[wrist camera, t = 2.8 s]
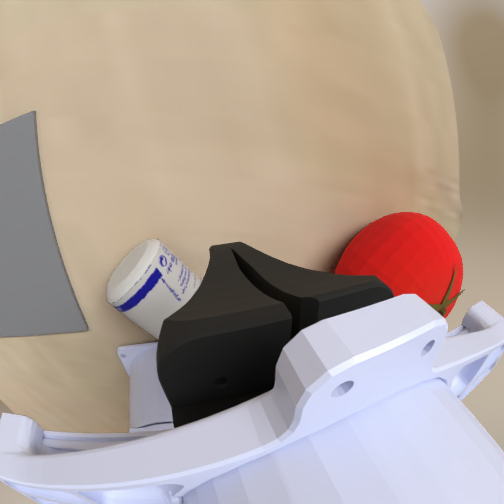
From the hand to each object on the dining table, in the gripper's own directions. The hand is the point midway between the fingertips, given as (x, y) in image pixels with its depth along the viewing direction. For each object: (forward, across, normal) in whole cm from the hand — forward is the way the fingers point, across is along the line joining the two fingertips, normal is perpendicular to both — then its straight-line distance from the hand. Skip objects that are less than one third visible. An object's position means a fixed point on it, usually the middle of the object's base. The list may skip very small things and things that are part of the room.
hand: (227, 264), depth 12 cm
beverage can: (+7, +6, +2) cm, 9 cm away
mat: (+9, +20, 0) cm, 23 cm away
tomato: (+10, -16, +7) cm, 20 cm away
